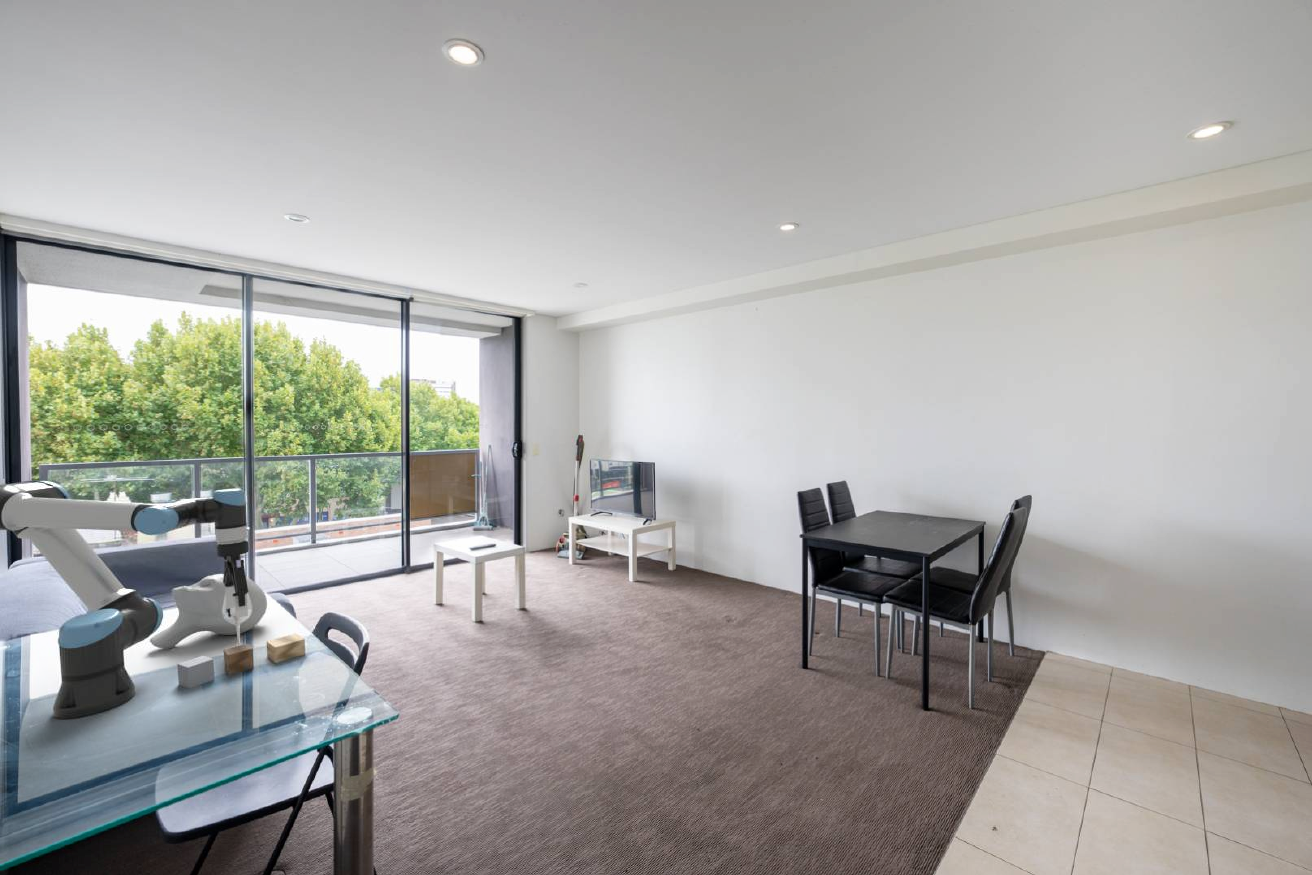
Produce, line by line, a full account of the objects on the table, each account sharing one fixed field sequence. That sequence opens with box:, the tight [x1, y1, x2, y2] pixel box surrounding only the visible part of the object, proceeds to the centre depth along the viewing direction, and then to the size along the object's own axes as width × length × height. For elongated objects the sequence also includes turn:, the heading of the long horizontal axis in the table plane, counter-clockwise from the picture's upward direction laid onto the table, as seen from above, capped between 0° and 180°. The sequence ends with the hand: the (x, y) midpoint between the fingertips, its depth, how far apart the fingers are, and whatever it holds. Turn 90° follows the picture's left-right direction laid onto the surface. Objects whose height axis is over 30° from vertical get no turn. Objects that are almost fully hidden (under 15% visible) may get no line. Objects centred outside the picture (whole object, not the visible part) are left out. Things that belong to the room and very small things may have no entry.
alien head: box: [149, 573, 268, 649], centre depth 191 cm, size 21×25×32 cm
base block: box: [266, 633, 306, 664], centre depth 173 cm, size 8×8×5 cm
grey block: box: [177, 655, 215, 689], centre depth 157 cm, size 6×6×6 cm
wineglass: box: [222, 593, 254, 649], centre depth 178 cm, size 8×8×20 cm
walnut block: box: [223, 643, 255, 676], centre depth 165 cm, size 6×6×6 cm
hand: (236, 612), depth 164 cm, fingers open, 13 cm apart
